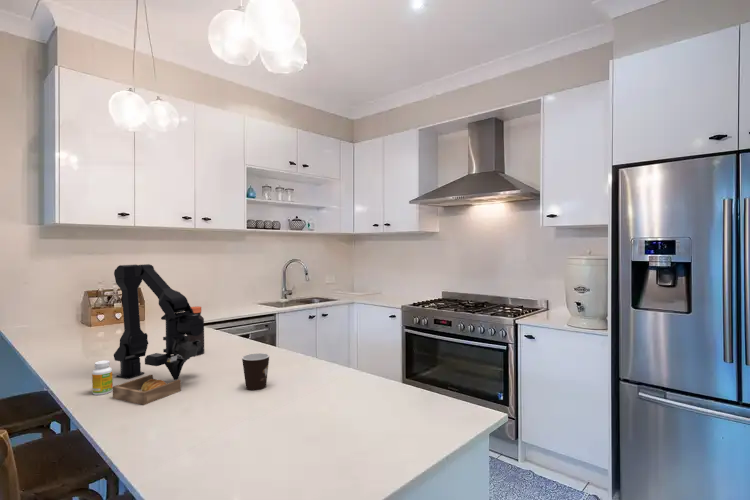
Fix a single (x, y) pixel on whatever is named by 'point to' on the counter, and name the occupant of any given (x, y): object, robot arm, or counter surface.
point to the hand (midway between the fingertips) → (175, 379)
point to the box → (132, 393)
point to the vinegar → (201, 337)
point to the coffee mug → (255, 370)
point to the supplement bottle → (102, 378)
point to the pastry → (152, 384)
